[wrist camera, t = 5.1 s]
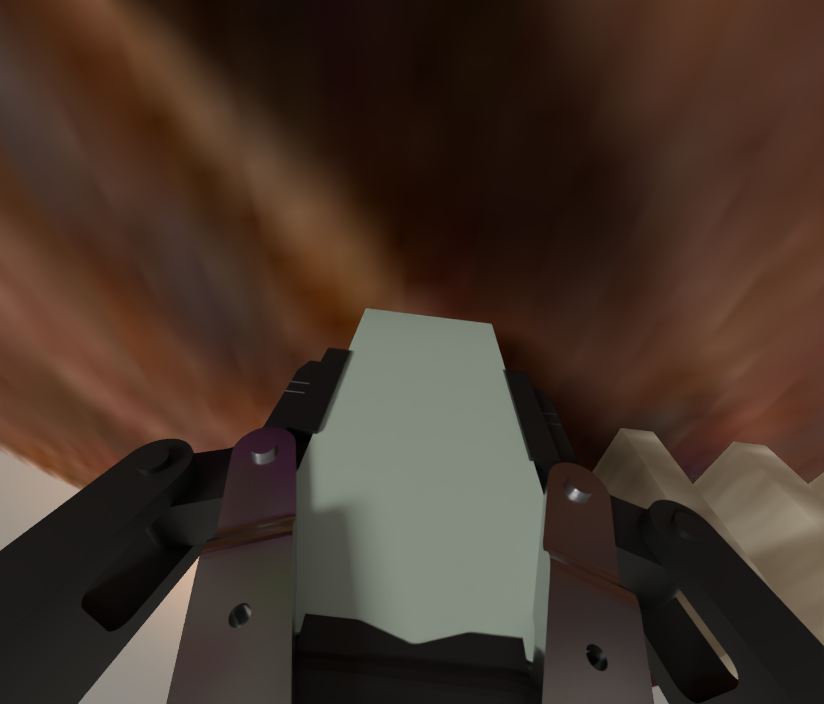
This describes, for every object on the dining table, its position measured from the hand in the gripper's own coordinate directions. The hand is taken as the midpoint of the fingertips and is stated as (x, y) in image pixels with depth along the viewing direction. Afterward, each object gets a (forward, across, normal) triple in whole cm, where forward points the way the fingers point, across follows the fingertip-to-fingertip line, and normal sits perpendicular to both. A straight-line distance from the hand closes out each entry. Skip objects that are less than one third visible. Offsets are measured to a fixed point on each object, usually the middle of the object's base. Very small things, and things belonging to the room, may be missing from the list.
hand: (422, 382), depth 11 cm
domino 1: (+3, 0, 0) cm, 3 cm away
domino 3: (+6, -21, +9) cm, 24 cm away
